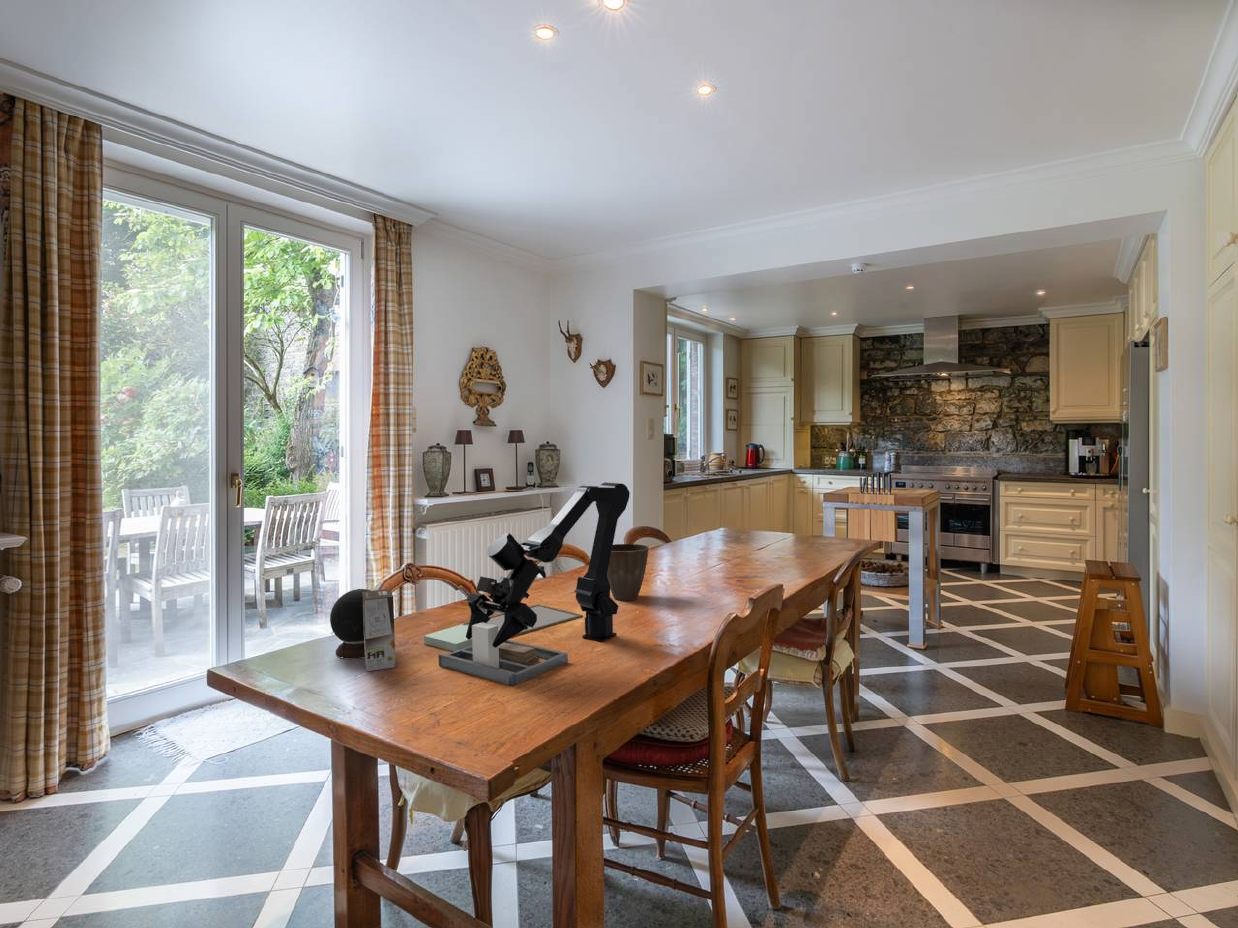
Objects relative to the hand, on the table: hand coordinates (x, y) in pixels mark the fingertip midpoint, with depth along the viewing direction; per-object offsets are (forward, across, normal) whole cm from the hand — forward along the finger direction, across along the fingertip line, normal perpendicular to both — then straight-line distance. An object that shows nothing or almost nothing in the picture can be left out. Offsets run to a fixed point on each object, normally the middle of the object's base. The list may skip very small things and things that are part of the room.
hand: (480, 642), depth 145 cm
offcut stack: (-2, -1, +11) cm, 12 cm away
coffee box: (+12, -23, -3) cm, 26 cm away
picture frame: (-18, -24, +28) cm, 41 cm away
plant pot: (-45, -18, +54) cm, 73 cm away
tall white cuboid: (+4, 0, +6) cm, 7 cm away
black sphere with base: (+11, -35, -1) cm, 37 cm away
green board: (-3, -22, +12) cm, 26 cm away
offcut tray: (0, 0, +9) cm, 9 cm away
